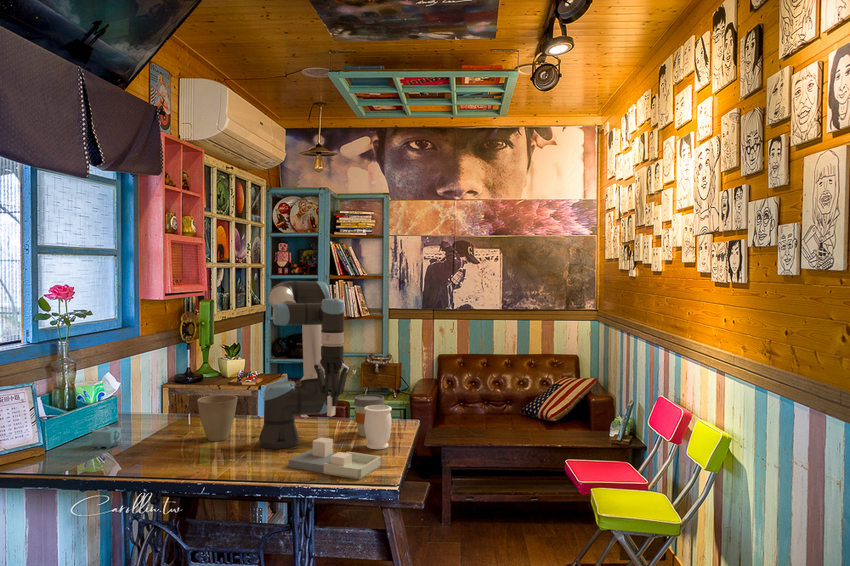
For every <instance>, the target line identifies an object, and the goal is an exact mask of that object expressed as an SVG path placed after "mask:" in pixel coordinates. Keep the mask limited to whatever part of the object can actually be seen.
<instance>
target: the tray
mask: <svg viewBox="0 0 850 566" xmlns="http://www.w3.org/2000/svg"><path fill="white" fill-rule="evenodd" d="M345 453H349V454H352V467H346V466H340V465H334V464H328V463H324V473H323V474H324V475H330V476H337V477H342V478H348V479H354V480H359V481H360V480H362V479H363V478H365V477H366V476H368V475H370V474H371V473H373V472H375V471H376V470H377V469H379V468H381V467H382V458H383V457H382V456H381V455H380V456H379V455H373V454H367V453H360V452H354V451H353V452H352V451H346V452H345Z"/></svg>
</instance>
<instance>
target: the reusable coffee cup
mask: <svg viewBox="0 0 850 566" xmlns="http://www.w3.org/2000/svg"><path fill="white" fill-rule="evenodd" d="M353 401H354V403H353V405H354V408H355V410H354V419H355V423H356V427H357V434H358V435H359V436H361V437H366V435H365V427H364V420H365V414H366V411H365V407H366V406H370V405H385V396H383V395H381V394H371V393H370V394H367V393H366V394H359V395H356V396H355V397H354V400H353Z"/></svg>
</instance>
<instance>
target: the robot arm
mask: <svg viewBox="0 0 850 566" xmlns="http://www.w3.org/2000/svg"><path fill="white" fill-rule="evenodd" d="M267 301H268V302H269V305H270V306H271V307H272V322H273V324H274V325H275V326H282V327H283V326H284V327H285V326H302V328H301V329H302V333H301V334H302V360H303V362H302V363H303V364H302V365H303V368H302V369H303V376H302V378H301V379H300V380H299V384H296V383H295V381H294V380H293V381H292V380H284V381H278V382H273V383H270V384H269V385H267V386H266V387H265V388H264V393H263V425H262V428H261V432H260V433H259V436H258V446H259V447H260V448H263V449H268V450H269V449H270V450H281V449H288V448H292V447H296V446H298V445H299V444H300V435H299V433H298V430H297V426H296V422H295V421H296V420H295V419H296V418H295V417H296V416H306V415H307V416H308V415H310V416H311V415H324V414H326V416H327V417H333V416H335V415H336V407H337V406H338V398H339V396H340V395H343V394H344V390H345V385H346V381H347V377H348V374H349V372H350V371H351V367H350V366H349V365H348V366H347V365H346V364H345V361H344V355H345V353H344V350H345V349H344V343H345V339H344V338H345V337H344V336H345V333H344V332H345V331H344V330H345V329H344V328H345V302H344V300H343V298H331V294H330V289H329V286H328V284H327V283H326V282H324V281H317V280H314V281H313V280H310V281H309V280H307V281H306V280H305V281H302V280H288V281H282V282H280V283H277V284H276V285H274V286H273V287H272V288H271V289H270V290H269V293H268V299H267ZM340 371H341V372H340Z"/></svg>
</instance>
